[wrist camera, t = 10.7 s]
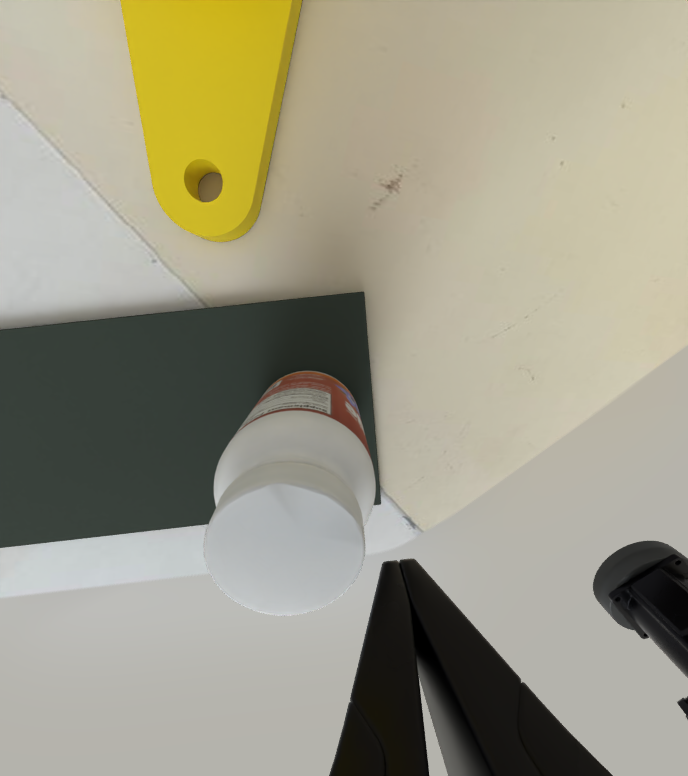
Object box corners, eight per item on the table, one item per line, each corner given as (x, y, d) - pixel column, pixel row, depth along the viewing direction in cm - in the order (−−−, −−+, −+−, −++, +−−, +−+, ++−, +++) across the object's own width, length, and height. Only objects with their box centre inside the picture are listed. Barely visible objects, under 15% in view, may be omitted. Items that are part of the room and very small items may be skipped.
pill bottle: (358, 460, 21) (388, 633, 10) (262, 462, 21) (190, 641, 10) (359, 367, 19) (397, 456, 8) (255, 368, 19) (158, 461, 8)
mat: (363, 291, 18) (364, 291, 18) (379, 499, 22) (381, 504, 22) (-93, 339, 18) (-106, 341, 18) (5, 542, 22) (-3, 548, 21)
